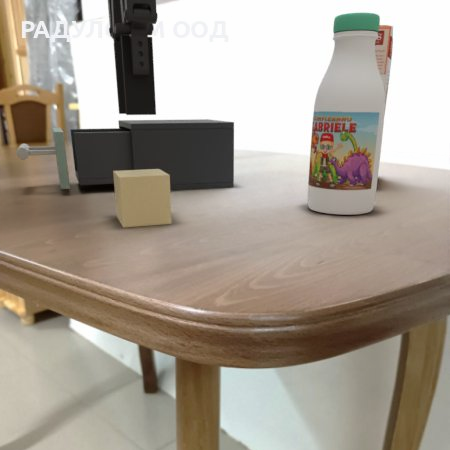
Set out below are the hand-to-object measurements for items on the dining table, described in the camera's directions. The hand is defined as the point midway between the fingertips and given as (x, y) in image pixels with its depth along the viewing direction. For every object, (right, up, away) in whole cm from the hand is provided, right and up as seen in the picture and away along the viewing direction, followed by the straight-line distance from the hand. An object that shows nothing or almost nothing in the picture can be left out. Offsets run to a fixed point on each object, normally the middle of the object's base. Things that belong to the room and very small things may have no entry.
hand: (136, 113), depth 48 cm
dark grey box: (+1, 0, +28) cm, 28 cm away
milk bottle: (+22, -8, +9) cm, 26 cm away
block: (0, -10, +4) cm, 11 cm away
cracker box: (+29, 0, +28) cm, 41 cm away
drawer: (-11, -1, +23) cm, 26 cm away
